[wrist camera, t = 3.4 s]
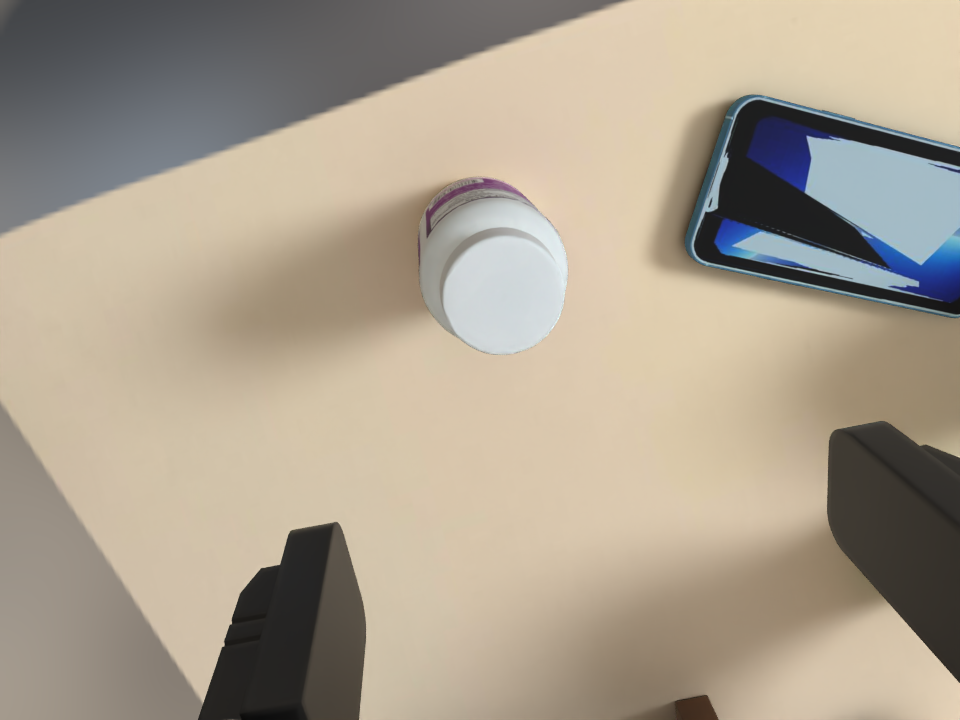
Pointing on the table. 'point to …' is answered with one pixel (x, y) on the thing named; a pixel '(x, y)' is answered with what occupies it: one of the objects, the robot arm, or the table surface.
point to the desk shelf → (695, 709)
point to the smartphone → (831, 206)
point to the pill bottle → (491, 266)
